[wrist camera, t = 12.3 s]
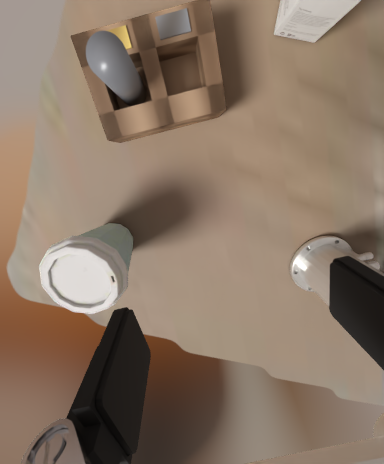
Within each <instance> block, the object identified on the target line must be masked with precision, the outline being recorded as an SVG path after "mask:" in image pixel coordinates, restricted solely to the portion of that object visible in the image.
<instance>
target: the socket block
mask: <svg viewBox="0 0 384 464" xmlns="http://www.w3.org/2000/svg"><path fill="white" fill-rule="evenodd" d="M98 31H109V32H111V33H113V34H115V35H116V36H117V37H118V38H119V39H120V40H121V41H122V43H123V44H124V46H125V48H126V50H127V52H128V54H129V56H130V58H131V60H132V62H133V64H134V66H135V68H136V70H137V71H138V73H139V75H140V77H141V79H142V81H143V83H144V85H145V87H146V99H145V101H144V103H142V104H138V105H134V106H129V105H128V104H126V103H125V102H124V101H123V100H122V99H121V98H120V97H119V96H118V95H117V94H116V93H115V92H114V91H112V90H111V89H110V88H109V87H108V86H107V85H106V84H105V83H104V82H103V81H102V80H101V79H100V78H99V77H98V76H97V75H96V74H95V73H94V72H93V71H92V70H91V68H90V66H89V64H88V62H87V58H86V45H87V42H88V40H89V38H90V37H91V36H92V35H93V34H94V33H96V32H98ZM71 39H72V42H73V44H74V47H75V50H76V53H77V56H78V58H79V61H80V64H81V67H82V70H83V72H84V75H85V78H86V81H87V84H88V87H89V89H90V92H91V95H92V98H93V101H94V103H95V106H96V109H97V112H98V115H99V117H100V120H101V123H102V126H103V129H104V131H105V134H106V137H107V140H108V141H113V142H118V143H122V142H125V141H129V140H133V139H137V138H141V137H145V136H148V135H152V134H156V133H160V132H164V131H168V130H171V129H175V128H179V127H183V126H187V125H191V124H194V123H198V122H202V121H206V120H210V119H214V118H217V117H219V116H220V115H221V114H222V113H223V112H224V111H225V110H226V109H227V107H226V101H225V94H224V88H223V81H222V75H221V68H220V62H219V55H218V48H217V42H216V35H215V29H214V22H213V16H212V9H211V3H210V0H196V1H192V2H189V3H185V4H182V5H178V6H175V7H171V8H168V9H164V10H160V11H157V12H153V13H150V14H146V15H143V16H139V17H135V18H132V19H128V20H125V21H121V22H118V23H114V24H111V25H107V26H103V27H100V28H96V29H93V30H89V31H86V32H82V33H79V34H75V35H71Z"/></svg>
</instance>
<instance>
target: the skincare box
mask: <svg viewBox="0 0 384 464" xmlns="http://www.w3.org/2000/svg"><path fill="white" fill-rule="evenodd" d="M360 1H361V0H280V5H279V10H278V15H277V20H276V25H275V31H274V34H275V35H278V36H283V37H288V38H293V39H298V40H304V41H308V42H313V43H314V42H316V41H317V40H318V39H319V38H320V37H321V36H322V35H324V34H325V33H326V32H327V31H328V30H329V29H330V28H331V27H332V26H334V25H335V24H336V23H337V22H338V21H339V20H340V19H341V18H342V17H343V16H345V15H346V14H347V13H348V12H349V11H350V10H351V9H352V8H353V7H354V6H356V5H357V4H358V3H359V2H360Z"/></svg>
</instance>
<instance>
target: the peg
mask: <svg viewBox="0 0 384 464" xmlns="http://www.w3.org/2000/svg"><path fill="white" fill-rule="evenodd" d="M86 58H87V62H88V64H89V66H90V68H91V70H92V71H93V72H94V73H95V74H96V75H97V76H98V77H99V78H100V79H101V80H102V81H103V82H104V83H105V84H106V85H107V86H108V87H109V88H110V89H111V90H112V91H114V92H115V93H116V94H117V95H118V96H119V97H120V98H121V99H122V100H123V101H124V102H125V103H126V104H128V105H129V106H134V105H138V104H142V103H144V101H145V99H146V87H145V85H144V83H143V81H142V79H141V77H140V75H139V73H138V71H137V70H136V68H135V66H134V64H133V62H132V60H131V58H130V56H129V54H128V52H127V50H126V48H125V46H124V44H123V43H122V41H121V40H120V39H119V38H118V37H117V36H116V35H115V34H113V33H111V32H109V31H98V32H96V33H94V34H93V35H92V36H91V37H90V38H89V40H88V42H87V45H86Z"/></svg>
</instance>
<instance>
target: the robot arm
mask: <svg viewBox="0 0 384 464" xmlns="http://www.w3.org/2000/svg"><path fill="white" fill-rule="evenodd" d="M373 257H374V256H373V254H372V253H371V252H367V253H363V254H360V255H359V254H357V253H355V252H353V251H352V248H351V247H350V245H349V244H348V243H347V242H346V241H344V240H342V239H340V238H338V237H335V236H320V237H316V238H314V239H312V240H310V241H308V242H306V243H305V244H304V245H302V246H301V247H300V248H299V249H298V250H297V252H296V253H295V255H294V256H293V258H292V261H291V265H290V274H291V277H292V279H293V281H294V282H295V283H296V284H297V285H298V286H299V287H300V288H302V289H304V290H306V291H312V292H315V293H316V294H317V295H318V296H319V297H320V298H321V299H322V300H323V301H324V302H325V303H326V304H327V305H328V306H329V309H330V312H331V314H332V316H333V317H334V318H335V319H336V320H337V321H338V322H339V323H340V324H341V325H342V327H343V328H344V329H345V330H346V331H347V332H348V333H349V334H350V335H351V336H352V337H353V338H354V339H355V340H356V341H357V342H358V343H359V344H360V346H361V347H362V348H363V349H364V350H365V351H366V352H367V353H368V354H369V355H370V356H371V357H372V358H373V359H374V360H375V361H376V362H377V364H378V365H379V366H380V367H381V368H382V369H383V370H384V273H383V272H381V271H379V269H380V265H379V263H378V262H377V261H375V260H373V261H369V262H364V261H363V260H369V259H373ZM149 364H150V349H149V347H148V344H147V342H146V340H145V338H144V335H143V333H142V331H141V328H140V326H139V324H138V321H137V319H136V317H135V315H134V312H133V310H129V309H128V308H127V307H126V308H121V309H117V310H114V312H113V314H112V316H111V318H110V321H109V323H108V325H107V328H106V330H105V332H104V335H103V337H102V339H101V342H100V344H99V346H98V347H97V349H96V351H95V353H94V355H93V358H92V360H91V362H90V365H89V367H88V369H87V372H86V374H85V376H84V379H83V381H82V383H81V386H80V388H79V390H78V392H77V395H76V397H75V399H74V402H73V404H72V406H71V409H70V411H69V413H68V416H67V418H65V419H59V420H57V421H55V422H53V423H51V424H50V425H48V426H47V427H46V428H44V429H43V430H42V431H41V432H40V433H39V435H37V436H36V438H35V439H34V440H33V442H32V443H31V444H30V446H29V447H28V449H27V451H26V453H25V454H24V456H23V459H22V461H21V464H131V459H132V454H134V453H135V452H136V450H137V446H138V439H139V432H140V426H141V419H142V412H143V405H144V398H145V391H146V385H147V378H148V371H149ZM246 464H384V413H383V414H382V415H381V416H380V417H379V418H378V420H377V421H376V423H375V425H374V429H373V438H369V439H364V440H359V441H354V442H349V443H345V444H339V445H334V446H329V447H325V448H320V449H315V450H310V451H305V452H300V453H295V454H290V455H285V456H281V457H275V458H271V459H266V460H261V461H256V462H251V463H246Z"/></svg>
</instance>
